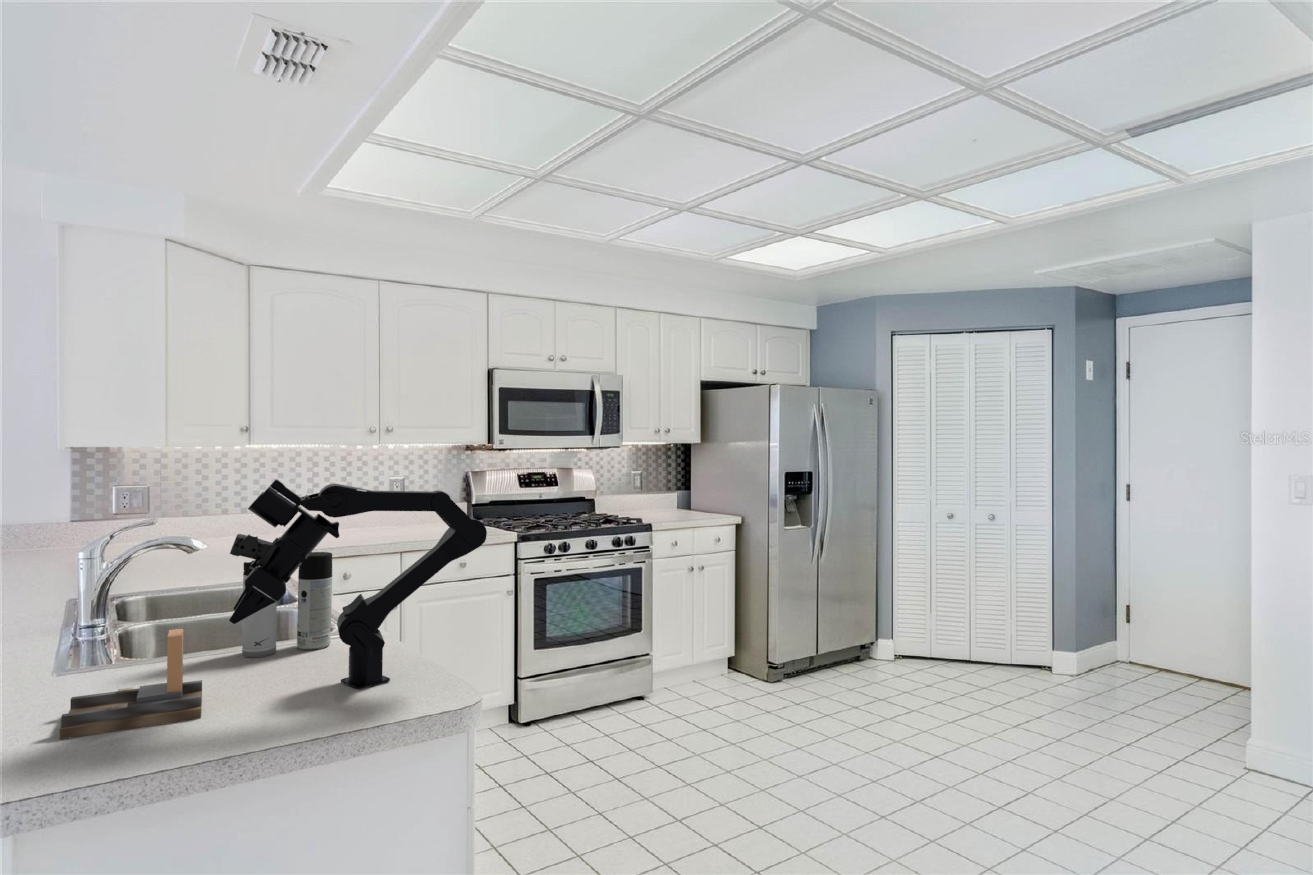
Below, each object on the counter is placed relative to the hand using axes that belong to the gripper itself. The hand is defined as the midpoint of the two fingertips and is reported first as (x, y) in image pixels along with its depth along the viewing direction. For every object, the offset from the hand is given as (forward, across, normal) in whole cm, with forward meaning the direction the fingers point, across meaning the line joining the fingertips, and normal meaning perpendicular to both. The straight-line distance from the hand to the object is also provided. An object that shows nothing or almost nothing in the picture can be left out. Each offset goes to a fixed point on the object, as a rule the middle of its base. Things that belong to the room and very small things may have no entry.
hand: (233, 616), depth 130 cm
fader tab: (+16, +3, 0) cm, 16 cm away
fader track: (+19, +3, -2) cm, 20 cm away
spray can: (+3, -29, +20) cm, 35 cm away
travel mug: (+9, -28, +12) cm, 32 cm away
